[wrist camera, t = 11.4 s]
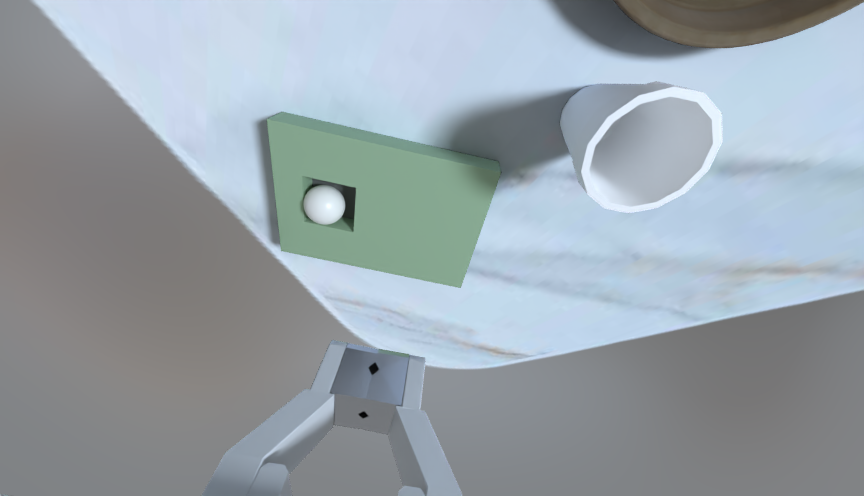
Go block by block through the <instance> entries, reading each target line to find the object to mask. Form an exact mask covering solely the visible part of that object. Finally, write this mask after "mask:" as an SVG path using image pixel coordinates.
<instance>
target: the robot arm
mask: <svg viewBox="0 0 864 496" xmlns="http://www.w3.org/2000/svg"><path fill="white" fill-rule="evenodd" d="M424 371H425V357H419V356H413V355H409V354H405V353H399V352H393V351H388V350H382V349H375V348H370V347H365V346H360V345H355V344H350V343H346V342H341V341H335V340H332V341H331V343H330V344H329V346H328V348H327V350H326V353H325V355H324V358H323V360H322V363H321V365H320V367H319V369H318V372H317V374H316V377H315V379H314V381H313V384H312V386H311V389H304V390H303V391H302V392H301V393H299V394H298V395H297V396H296V397H294V398H293V399H292V400H291V401H289V402H288V403H287V404H286V405H284V406H283V407H282V408H281V409H279V410H278V411H277V412H276V413H274V414H273V415H272V416H271V417H269V418H268V419H267V420H266V421H264V422H263V423H262V424H261V425H260V426H258V427H257V428H256V429H254V430H253V431H252V432H251V433H249V434H248V435H247V436H246V437H245V438H243V439H242V440H241V441H240V442H238V443H237V444H236V445H235V446H233V447H232V448H231V449H230V450H228V451H227V452H226V453H225V454H224V456H223V458H222V460H221V462H220V463H219V465H218V467H217V469H216V471H215V472H214V474H213V476H212V478H211V480H210V481H209V483H208V485H207V486H206V488H205V490H204V492H203V494H202V495H201V496H292V490H291V485H290V479H289V474H290V473H291V472H292V471H293V470H294V469H295V468H296V467H297V466H298V465H299V464H300V462H301V461H302V460H303V459H304V458H305V457H306V456H307V455H308V454H309V453H310V451H312V449H313V448H314V447H315V446H316V445H317V444H318V443H319V442H320V441H321V440H322V439H323V438H324V437H325V435H326V434H327V433H328V432H329V431H330V430H331V429H332V428H333V425H337V426H343V427H350V428H357V429H363V430H368V431H373V432H378V433H382V434H387V435H388V437H389V441H390V444H391V448H392V451H393V455H394V458H395V461H396V465H397V468H398V471H399V475H400V478H401V482H402V485H403V488H402V489H401V490H400V491H399V492H398V495H397V496H462V492H461V490H460V488H459V486H458V484H457V482H456V479H455V477H454V475H453V472H452V470H451V468H450V466H449V463H448V461H447V459H446V457H445V455H444V452H443V450H442V448H441V446H440V443H439V441H438V439H437V437H436V434H435V432H434V430H433V428H432V426H431V423H430V421H429V419H428V417H427V415H426V412H425V411H423V410H420V407H421V398H422V389H423V380H424ZM0 496H10V495H3V494H0Z"/></svg>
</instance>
